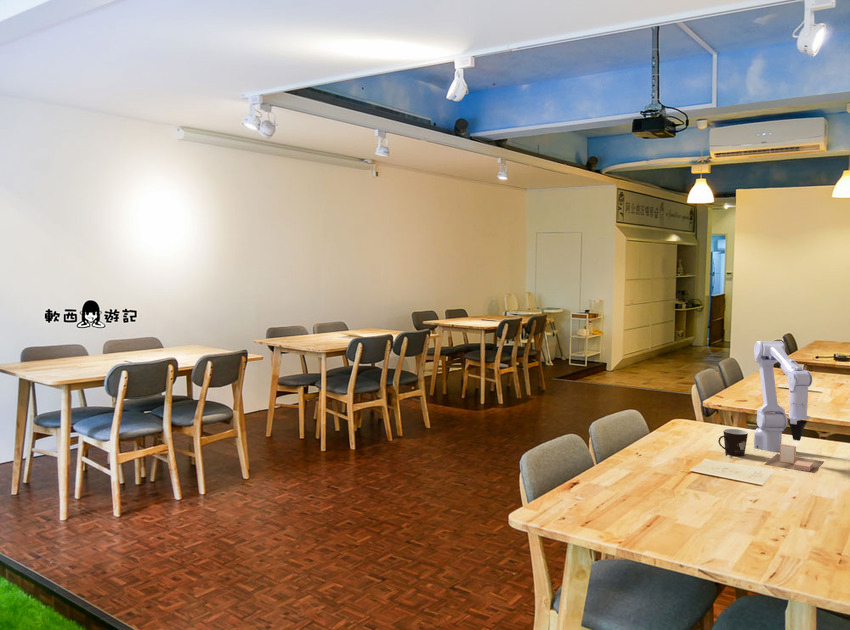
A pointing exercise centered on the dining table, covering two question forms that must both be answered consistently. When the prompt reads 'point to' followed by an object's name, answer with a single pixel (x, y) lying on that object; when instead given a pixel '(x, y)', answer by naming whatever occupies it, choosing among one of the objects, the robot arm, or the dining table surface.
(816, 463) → the board
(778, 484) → the dining table surface
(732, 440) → the coffee mug
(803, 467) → the tile right
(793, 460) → the tile left
